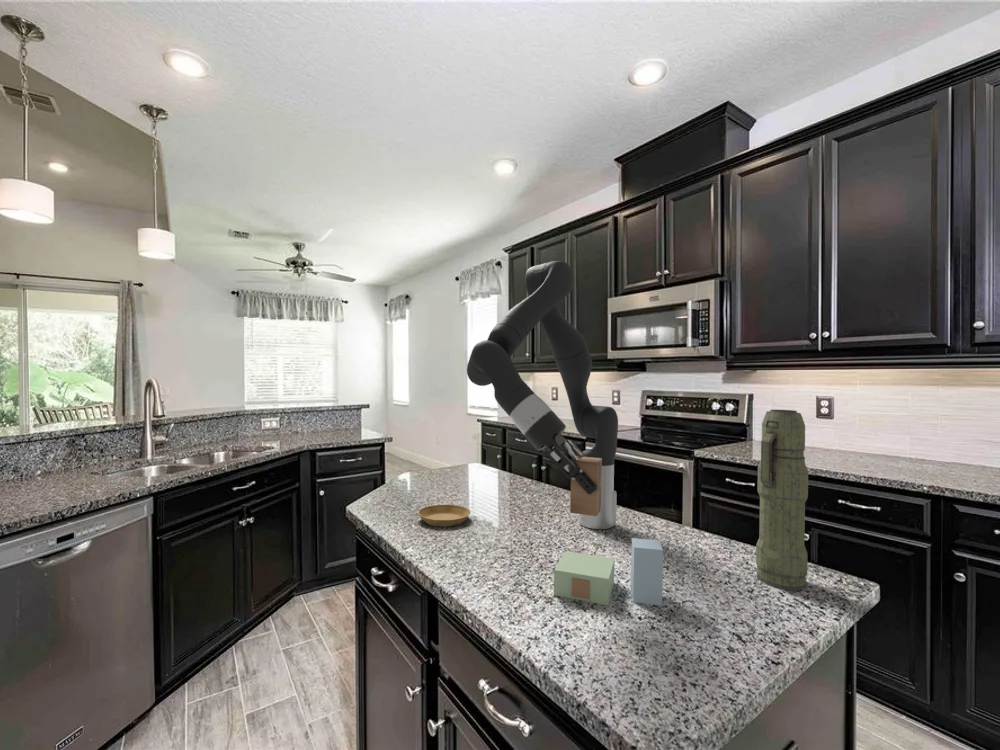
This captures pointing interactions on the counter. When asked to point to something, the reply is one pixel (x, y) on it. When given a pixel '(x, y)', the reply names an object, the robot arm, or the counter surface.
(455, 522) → the plant saucer
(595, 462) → the walnut block
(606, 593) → the base block
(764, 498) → the thermos
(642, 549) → the slate block
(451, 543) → the counter surface
